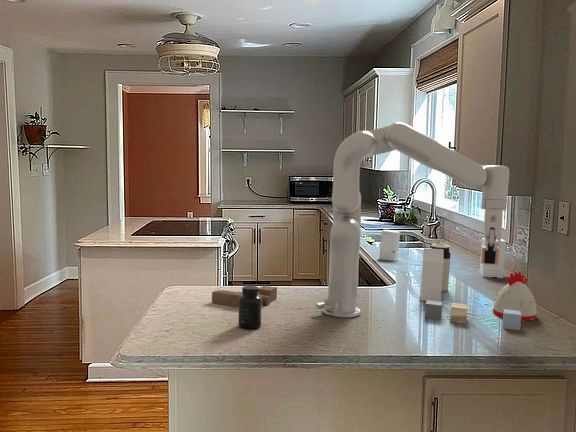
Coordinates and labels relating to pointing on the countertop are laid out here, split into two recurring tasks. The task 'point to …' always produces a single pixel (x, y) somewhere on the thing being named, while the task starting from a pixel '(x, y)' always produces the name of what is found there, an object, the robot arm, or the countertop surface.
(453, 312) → the maple block
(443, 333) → the countertop surface
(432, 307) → the charcoal block
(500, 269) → the supplement box
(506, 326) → the slate block
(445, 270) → the travel mug
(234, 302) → the wooden block set
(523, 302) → the kitchen timer
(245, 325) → the supplement bottle
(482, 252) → the terracotta block
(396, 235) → the skincare box
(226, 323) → the countertop surface
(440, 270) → the milk carton
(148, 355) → the countertop surface
